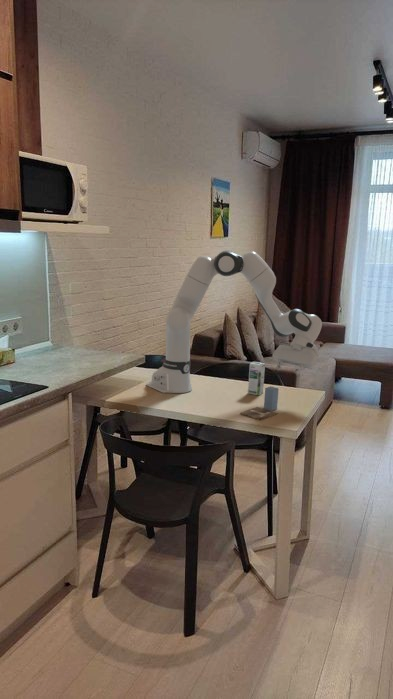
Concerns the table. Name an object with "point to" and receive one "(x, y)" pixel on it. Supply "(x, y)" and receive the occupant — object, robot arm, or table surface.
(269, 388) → the slate block
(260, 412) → the letter card
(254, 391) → the syrup box
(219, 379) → the table surface
